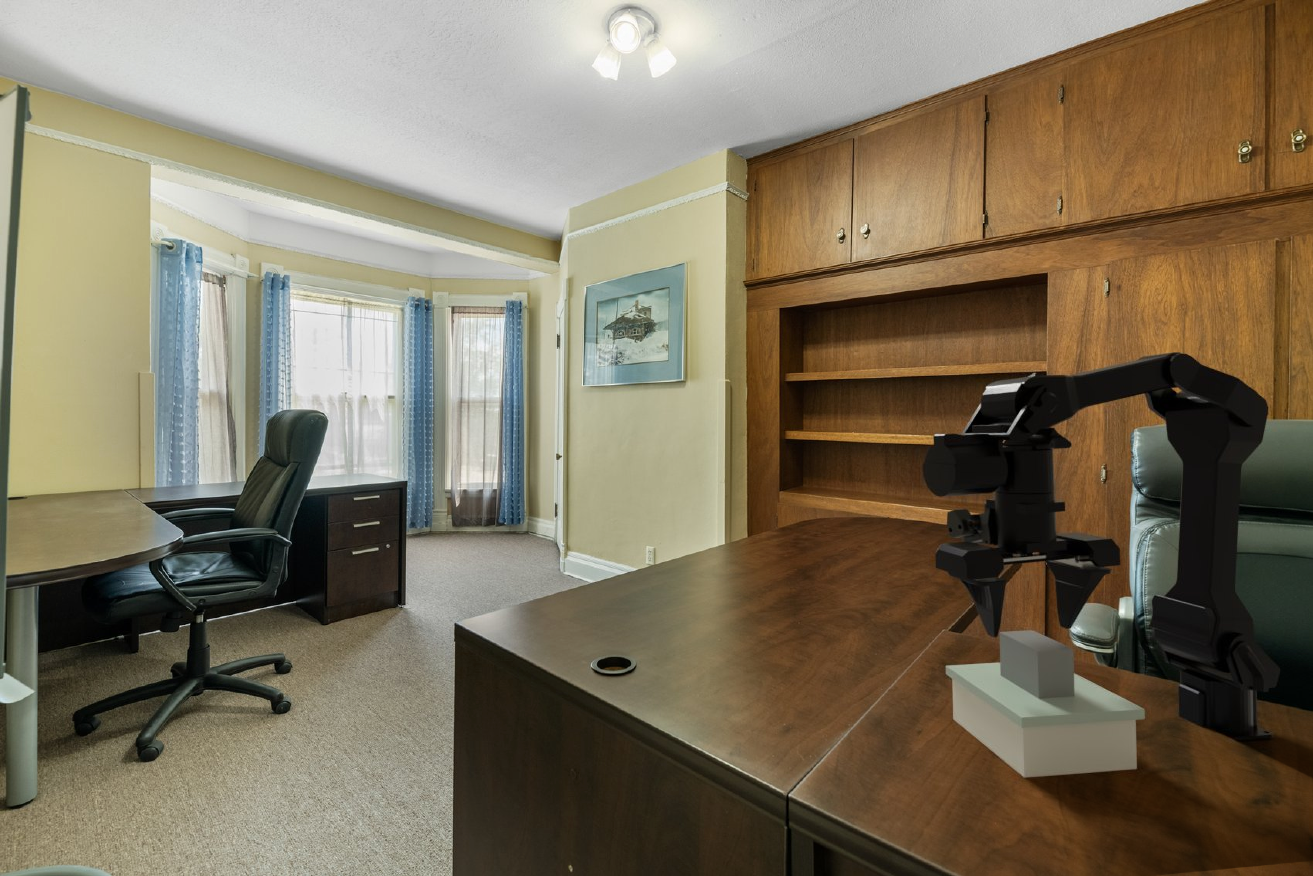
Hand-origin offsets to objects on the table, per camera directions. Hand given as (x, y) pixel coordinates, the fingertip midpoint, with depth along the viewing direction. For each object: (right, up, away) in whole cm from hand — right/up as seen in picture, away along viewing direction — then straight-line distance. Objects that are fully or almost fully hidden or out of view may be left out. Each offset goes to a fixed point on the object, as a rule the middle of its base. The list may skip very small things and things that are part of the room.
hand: (1029, 632), depth 65 cm
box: (+1, -13, 0) cm, 13 cm away
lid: (+1, -7, 0) cm, 7 cm away
